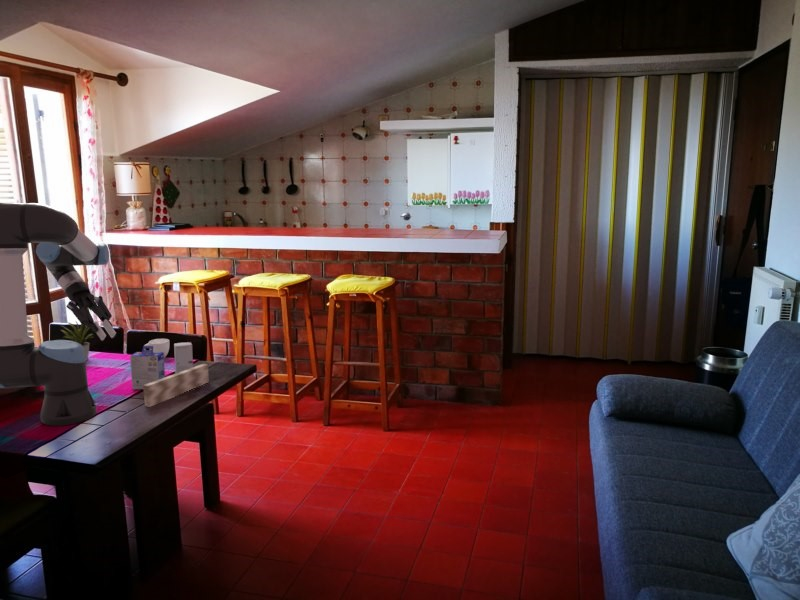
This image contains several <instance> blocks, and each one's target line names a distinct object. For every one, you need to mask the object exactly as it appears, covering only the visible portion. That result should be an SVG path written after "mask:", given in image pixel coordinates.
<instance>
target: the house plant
mask: <svg viewBox="0 0 800 600" xmlns="http://www.w3.org/2000/svg"><path fill="white" fill-rule="evenodd" d="M75 322H76V323H75V324H76V325H74V324H73V323H71V322H70V321H68V322H66V323H67V324H69V326H71V327H72V329H73V331H72V330H70V329H69V328H67V327H65V326H63V325H61V327H63V329H60V331H61V332H62V334H64V336H63V337H62V338H61V339H63V338H65V339H68V340H69V339H70V341H74V342H77V343H79V344H81V345H82V346H83V348H84V354H85V357H86V359H87V360H89V353H90V352H89V351H90V342H87V340H88V339H92V338H93V336H95V334H93V333H89V334H88V335H87V336H86V334H87V332H88V331H89V330H90V328H88V327H87V326H88V325H86V326H83V325H82V324H81V323H80V326H79V324H78V321H75ZM99 322H101V320H100V321H98V323H99ZM66 330H67V331H66ZM92 335H93V336H92Z"/></svg>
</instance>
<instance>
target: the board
mask: <svg viewBox="0 0 800 600" xmlns="http://www.w3.org/2000/svg"><path fill="white" fill-rule="evenodd" d="M209 378H210V376H209V365H208V363H207V364H206V363H201V364H199V365H196V366H193V368H190V369H187V370H184V371H182V372H179V373H176V374H175V373H174V374H170V375H167V376H165V378H162V379H159V380H156V381H154V382H151V383H148V384H145V385H143V389H142V390H143V397H144V398H143V400H144V407H148V408H149V407H150V408H151V407H153V406H156V405H157V404H160V403H162V402H166V401H168V400H170V399H173V398H175V396H176V397H178V396H180V395H179V394H181V395H183V394H185V393H184V392H186V391H188V392H190V391H189V390H191V389H193V388H196V387H198V386H201V385H203V384H205V383H208V382H209V383H210V380H209ZM209 383H208V384H209ZM203 386H204V385H203ZM201 387H202V386H201ZM198 388H199V387H198ZM196 389H197V388H196ZM193 390H194V389H193ZM191 391H192V390H191ZM182 393H183V394H182ZM186 393H187V392H186ZM177 395H178V396H177Z"/></svg>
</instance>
